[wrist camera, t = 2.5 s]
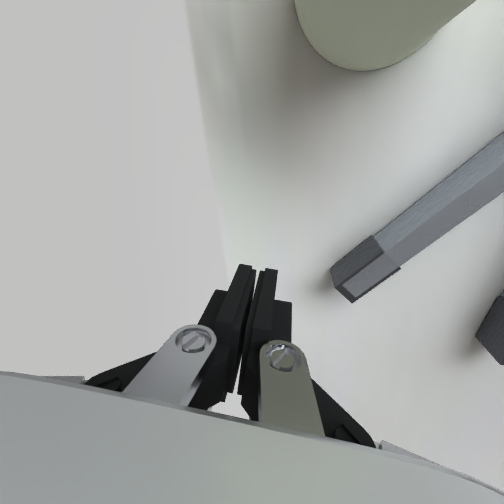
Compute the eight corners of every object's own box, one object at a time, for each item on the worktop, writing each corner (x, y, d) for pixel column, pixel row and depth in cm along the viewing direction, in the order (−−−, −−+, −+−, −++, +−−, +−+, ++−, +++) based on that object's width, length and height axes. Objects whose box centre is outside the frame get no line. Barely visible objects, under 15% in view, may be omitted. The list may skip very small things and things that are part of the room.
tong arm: (587, 61, 14) (653, 43, 12) (605, 86, 15) (674, 74, 12) (330, 268, 22) (334, 287, 19) (345, 282, 22) (351, 303, 19)
